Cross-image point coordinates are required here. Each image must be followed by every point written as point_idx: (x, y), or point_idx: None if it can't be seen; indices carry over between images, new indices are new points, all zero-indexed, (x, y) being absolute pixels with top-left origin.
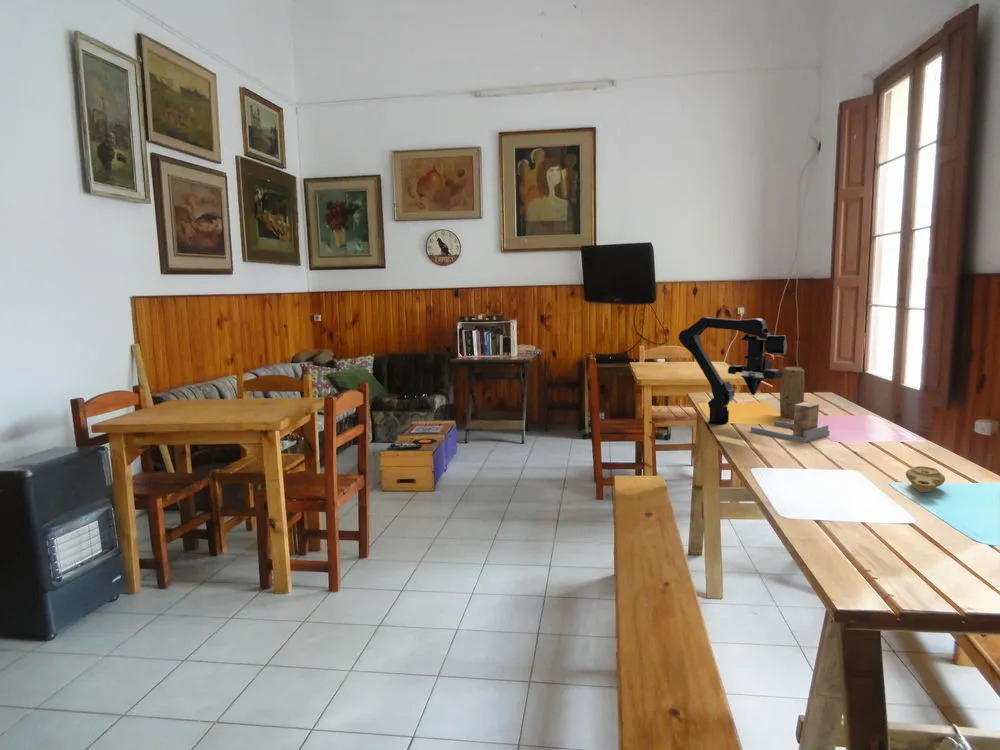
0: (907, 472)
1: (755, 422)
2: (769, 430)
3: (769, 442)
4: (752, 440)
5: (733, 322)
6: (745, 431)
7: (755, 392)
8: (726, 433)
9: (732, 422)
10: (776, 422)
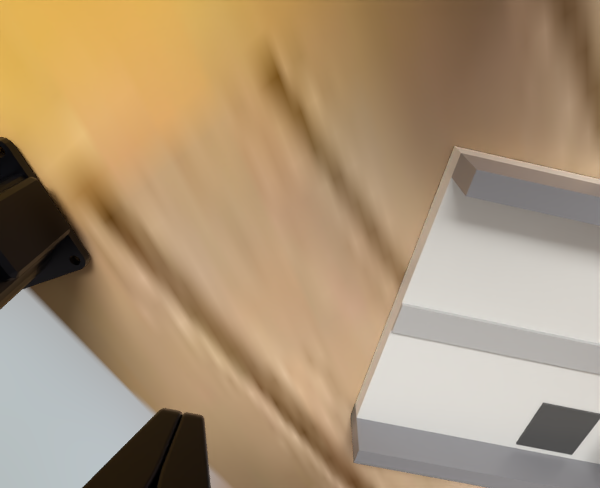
0: None
1: (215, 10)
2: (482, 477)
3: None
4: (392, 482)
5: None
6: (286, 349)
7: (206, 466)
8: (220, 435)
9: (69, 151)
10: (478, 194)
